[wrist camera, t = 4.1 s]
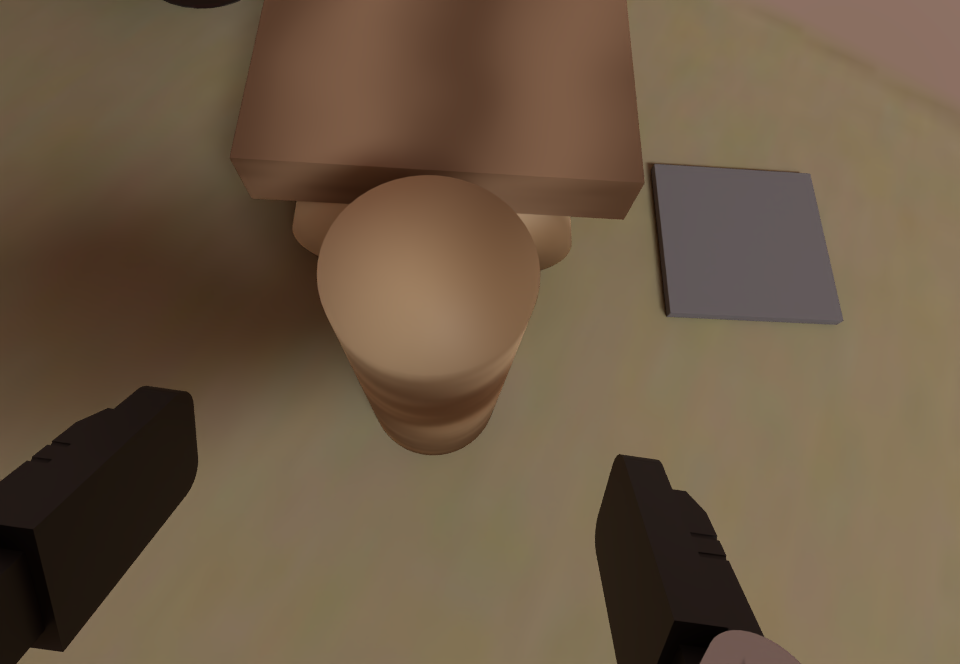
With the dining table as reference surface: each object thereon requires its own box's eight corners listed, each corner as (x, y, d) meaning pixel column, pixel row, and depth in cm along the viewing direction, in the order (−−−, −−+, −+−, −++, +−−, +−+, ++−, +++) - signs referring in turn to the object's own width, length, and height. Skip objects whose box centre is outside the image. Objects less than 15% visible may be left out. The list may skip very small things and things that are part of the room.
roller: (368, 453, 19) (302, 369, 10) (378, 334, 21) (330, 169, 12) (493, 457, 20) (542, 379, 10) (495, 340, 21) (538, 181, 12)
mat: (666, 316, 22) (670, 312, 22) (651, 169, 25) (654, 163, 24) (836, 324, 23) (843, 320, 22) (804, 179, 25) (810, 173, 25)
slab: (286, 263, 22) (229, 157, 16) (318, 67, 25) (281, -79, 19) (590, 278, 22) (644, 182, 17) (579, 85, 26) (621, -51, 20)
